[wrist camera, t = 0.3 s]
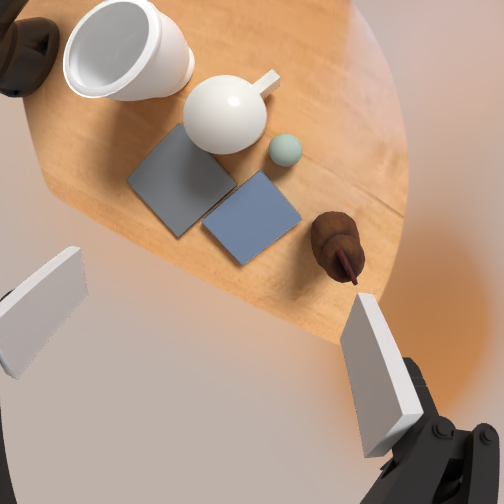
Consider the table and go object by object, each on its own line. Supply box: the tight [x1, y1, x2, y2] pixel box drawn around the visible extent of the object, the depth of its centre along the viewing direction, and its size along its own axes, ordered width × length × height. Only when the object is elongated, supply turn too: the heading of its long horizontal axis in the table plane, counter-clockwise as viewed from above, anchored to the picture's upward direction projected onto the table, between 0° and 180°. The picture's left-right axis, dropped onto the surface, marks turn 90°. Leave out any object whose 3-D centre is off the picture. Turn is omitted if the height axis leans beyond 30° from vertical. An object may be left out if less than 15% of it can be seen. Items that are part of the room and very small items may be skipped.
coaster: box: [126, 123, 238, 237], centre depth 37 cm, size 11×11×1 cm
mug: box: [183, 69, 280, 154], centre depth 29 cm, size 8×11×9 cm
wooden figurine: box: [311, 211, 365, 286], centre depth 32 cm, size 7×6×15 cm
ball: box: [269, 134, 302, 167], centre depth 33 cm, size 4×4×4 cm
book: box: [202, 169, 302, 265], centre depth 38 cm, size 8×10×2 cm
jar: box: [63, 0, 195, 101], centre depth 25 cm, size 11×10×15 cm
